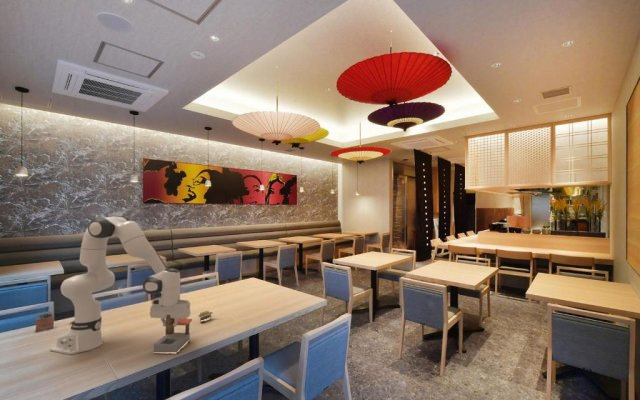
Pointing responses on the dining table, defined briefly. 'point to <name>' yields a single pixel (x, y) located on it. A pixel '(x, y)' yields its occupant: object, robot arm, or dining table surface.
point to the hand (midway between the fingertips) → (170, 326)
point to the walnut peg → (169, 325)
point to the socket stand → (173, 339)
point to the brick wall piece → (44, 322)
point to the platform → (205, 315)
